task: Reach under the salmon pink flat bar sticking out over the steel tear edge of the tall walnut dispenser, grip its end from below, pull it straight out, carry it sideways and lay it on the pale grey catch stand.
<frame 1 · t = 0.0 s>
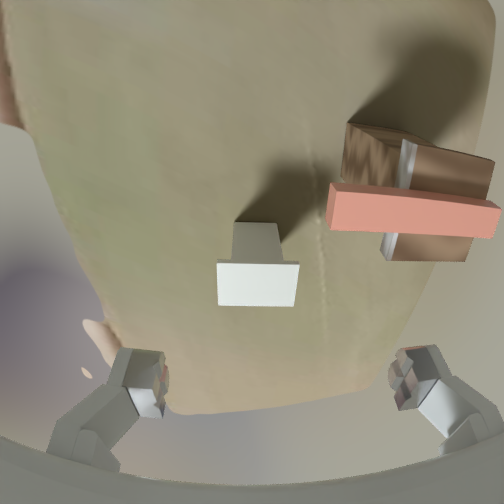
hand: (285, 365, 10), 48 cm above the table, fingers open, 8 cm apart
catch stand: (254, 236, 62), on the table
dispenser: (374, 153, 54), on the table
salmon pink flat bar: (419, 207, 32), point 25 cm above the table, touching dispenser
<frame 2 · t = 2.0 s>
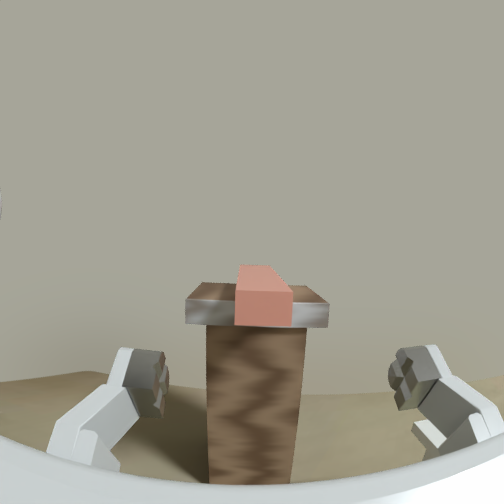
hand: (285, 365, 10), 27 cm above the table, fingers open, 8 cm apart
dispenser: (248, 462, 38), on the table
salmon pink flat bar: (257, 297, 33), point 25 cm above the table, touching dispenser
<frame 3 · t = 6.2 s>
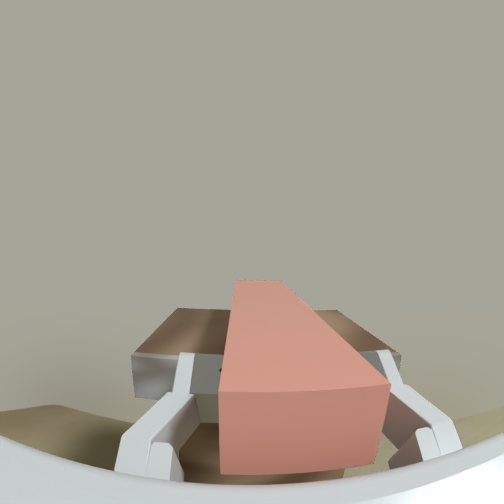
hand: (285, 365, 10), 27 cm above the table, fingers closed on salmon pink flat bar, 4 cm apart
salmon pink flat bar: (267, 346, 18), point 25 cm above the table, touching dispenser, gripper
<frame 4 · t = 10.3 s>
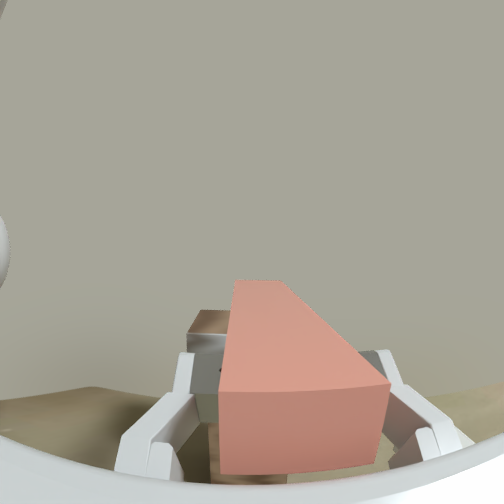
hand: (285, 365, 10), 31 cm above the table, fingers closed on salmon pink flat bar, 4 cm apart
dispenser: (247, 473, 40), on the table
salmon pink flat bar: (267, 346, 18), point 29 cm above the table, touching gripper
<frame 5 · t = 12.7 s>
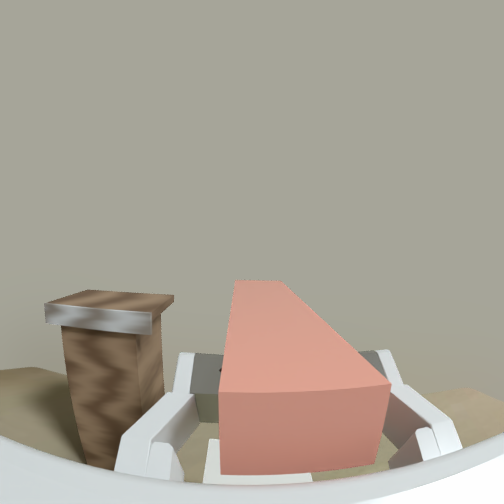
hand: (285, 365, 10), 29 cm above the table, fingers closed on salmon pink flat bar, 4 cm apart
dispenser: (130, 454, 40), on the table
salmon pink flat bar: (267, 346, 18), point 27 cm above the table, touching gripper
when the fingers open (19 cm above the table, at t = 14.7 s): salmon pink flat bar drops 1 cm, resting on catch stand.
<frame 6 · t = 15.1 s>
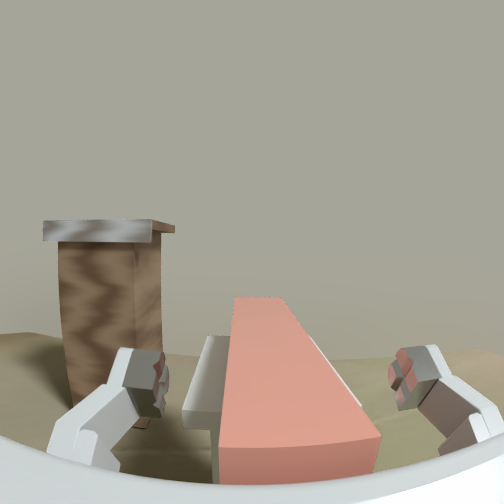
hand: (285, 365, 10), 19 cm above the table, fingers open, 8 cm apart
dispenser: (123, 402, 39), on the table
salmon pink flat bar: (266, 370, 18), point 15 cm above the table, touching catch stand
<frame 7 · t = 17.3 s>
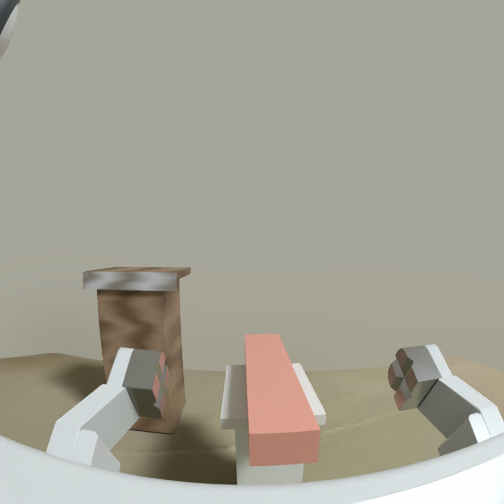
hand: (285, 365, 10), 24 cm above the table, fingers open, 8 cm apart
catch stand: (265, 500, 28), on the table
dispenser: (152, 413, 48), on the table
salmon pink flat bar: (268, 391, 27), point 15 cm above the table, touching catch stand
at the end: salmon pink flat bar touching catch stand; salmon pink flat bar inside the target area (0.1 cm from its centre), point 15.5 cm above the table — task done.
